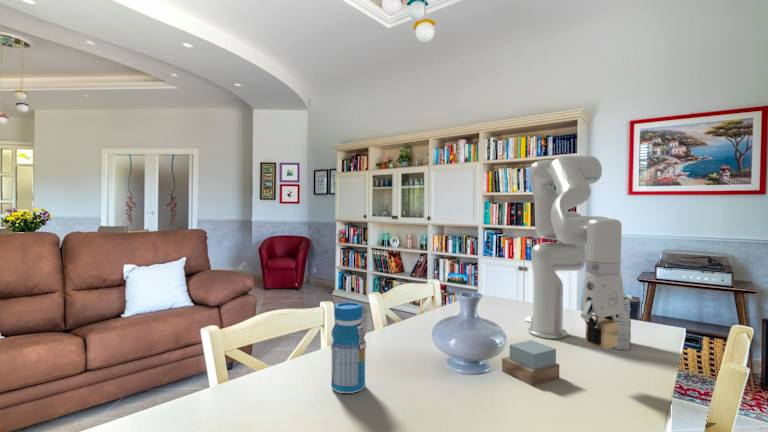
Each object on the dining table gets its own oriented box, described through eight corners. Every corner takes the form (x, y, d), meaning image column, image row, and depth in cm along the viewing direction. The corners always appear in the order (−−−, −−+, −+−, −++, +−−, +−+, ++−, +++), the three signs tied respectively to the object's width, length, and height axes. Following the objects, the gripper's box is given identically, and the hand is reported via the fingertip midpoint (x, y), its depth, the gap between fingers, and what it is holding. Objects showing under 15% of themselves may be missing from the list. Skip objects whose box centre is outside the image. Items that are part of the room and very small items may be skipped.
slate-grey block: (509, 359, 107) (509, 344, 107) (531, 354, 110) (531, 340, 110) (533, 370, 100) (534, 354, 100) (555, 364, 103) (555, 348, 103)
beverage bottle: (338, 398, 92) (338, 311, 92) (325, 384, 99) (326, 303, 99) (371, 390, 96) (371, 307, 95) (357, 377, 103) (357, 299, 103)
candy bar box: (601, 338, 135) (602, 289, 135) (617, 339, 134) (618, 290, 134) (613, 350, 124) (614, 297, 124) (631, 351, 123) (632, 297, 123)
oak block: (585, 343, 101) (586, 319, 101) (597, 339, 104) (598, 316, 103) (604, 349, 97) (605, 324, 97) (617, 346, 99) (617, 321, 99)
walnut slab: (501, 373, 108) (502, 358, 108) (528, 366, 112) (528, 352, 112) (532, 387, 99) (532, 371, 99) (559, 379, 104) (559, 364, 104)
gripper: (595, 274, 92) (593, 352, 93) (638, 268, 100) (636, 340, 101) (566, 268, 99) (565, 342, 100) (609, 263, 107) (607, 331, 108)
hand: (601, 340), depth 100 cm, fingers closed on oak block, 4 cm apart
